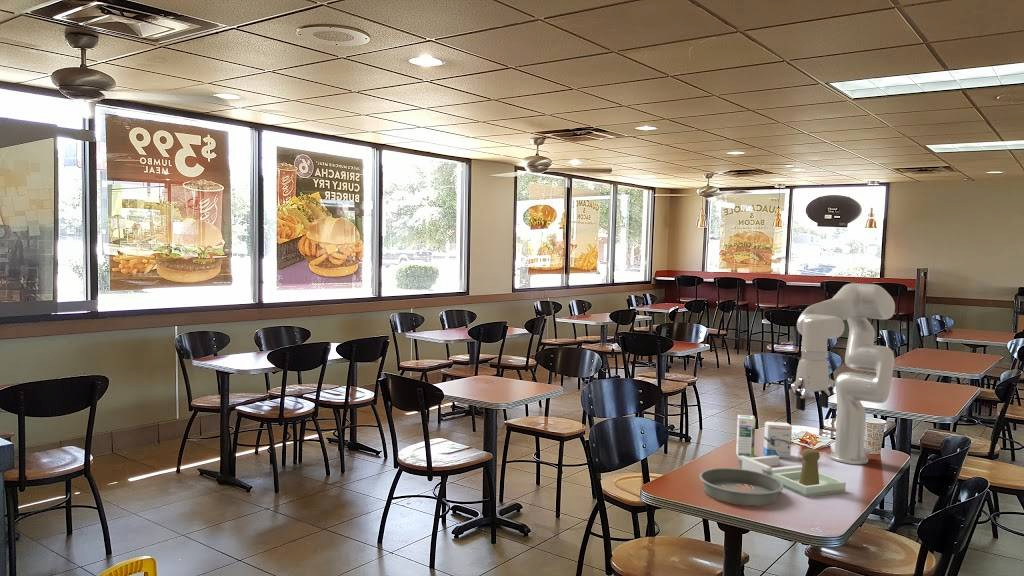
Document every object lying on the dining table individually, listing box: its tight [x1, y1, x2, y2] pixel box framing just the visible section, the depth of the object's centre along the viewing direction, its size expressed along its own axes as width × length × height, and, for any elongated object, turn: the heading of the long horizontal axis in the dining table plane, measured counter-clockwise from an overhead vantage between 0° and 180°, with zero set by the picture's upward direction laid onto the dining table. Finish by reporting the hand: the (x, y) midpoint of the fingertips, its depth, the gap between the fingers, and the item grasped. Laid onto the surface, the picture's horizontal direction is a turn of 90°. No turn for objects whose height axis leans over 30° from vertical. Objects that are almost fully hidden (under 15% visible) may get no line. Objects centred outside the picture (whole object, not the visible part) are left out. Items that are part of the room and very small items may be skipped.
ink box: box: [763, 421, 793, 459], centre depth 266 cm, size 9×5×12 cm, turn 84°
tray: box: [773, 471, 847, 498], centre depth 231 cm, size 16×14×3 cm
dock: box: [737, 455, 803, 477], centre depth 247 cm, size 16×14×4 cm
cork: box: [799, 448, 821, 486], centre depth 231 cm, size 6×6×11 cm
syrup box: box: [735, 414, 756, 458], centre depth 265 cm, size 6×6×14 cm
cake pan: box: [699, 467, 785, 506], centre depth 223 cm, size 25×25×4 cm
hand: (812, 408), depth 236 cm, fingers open, 9 cm apart
